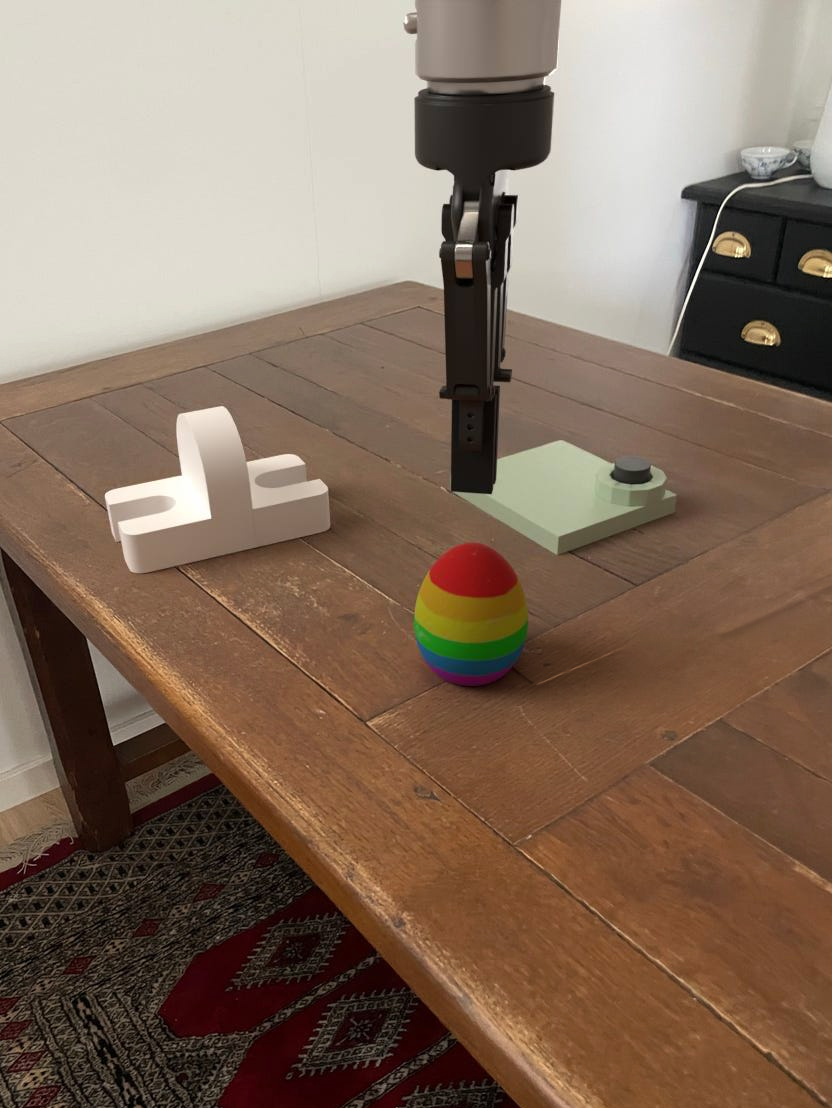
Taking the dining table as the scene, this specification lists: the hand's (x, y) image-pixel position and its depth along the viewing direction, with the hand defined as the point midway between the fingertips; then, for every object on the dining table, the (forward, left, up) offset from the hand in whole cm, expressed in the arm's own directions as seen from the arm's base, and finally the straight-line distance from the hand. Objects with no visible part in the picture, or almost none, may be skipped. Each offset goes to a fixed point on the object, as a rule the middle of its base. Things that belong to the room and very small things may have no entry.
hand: (473, 485), depth 68 cm
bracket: (+31, +6, -15) cm, 35 cm away
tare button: (+12, -27, -11) cm, 32 cm away
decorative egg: (0, 0, -15) cm, 15 cm away
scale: (+17, -23, -15) cm, 32 cm away
